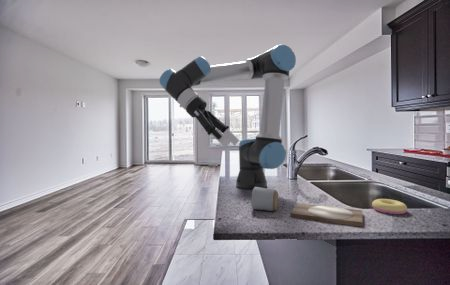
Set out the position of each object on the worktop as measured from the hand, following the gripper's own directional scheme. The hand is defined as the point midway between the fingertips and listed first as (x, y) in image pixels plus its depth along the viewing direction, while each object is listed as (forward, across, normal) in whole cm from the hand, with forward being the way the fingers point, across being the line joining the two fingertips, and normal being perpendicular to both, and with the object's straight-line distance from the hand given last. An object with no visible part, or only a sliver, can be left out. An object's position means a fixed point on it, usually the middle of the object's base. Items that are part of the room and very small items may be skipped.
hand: (232, 144), depth 91 cm
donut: (+53, -7, +20) cm, 57 cm away
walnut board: (+38, +3, +6) cm, 38 cm away
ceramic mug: (+24, 0, -8) cm, 25 cm away
